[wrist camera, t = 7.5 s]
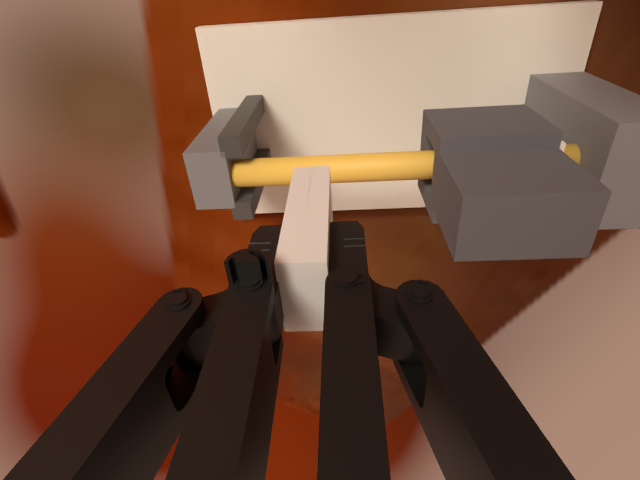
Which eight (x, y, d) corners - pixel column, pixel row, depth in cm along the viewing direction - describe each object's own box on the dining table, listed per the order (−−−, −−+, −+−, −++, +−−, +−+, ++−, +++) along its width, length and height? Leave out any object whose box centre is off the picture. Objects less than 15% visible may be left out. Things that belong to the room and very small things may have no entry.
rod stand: (199, 25, 24) (127, 57, 16) (593, 0, 23) (743, 19, 14) (235, 207, 31) (198, 297, 22) (542, 195, 29) (624, 286, 21)
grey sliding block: (423, 109, 21) (465, 178, 14) (524, 104, 21) (619, 172, 14) (417, 185, 23) (451, 275, 16) (509, 181, 23) (582, 272, 16)
